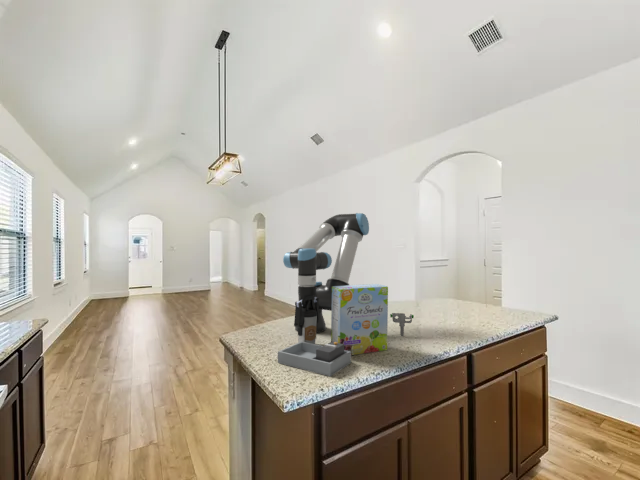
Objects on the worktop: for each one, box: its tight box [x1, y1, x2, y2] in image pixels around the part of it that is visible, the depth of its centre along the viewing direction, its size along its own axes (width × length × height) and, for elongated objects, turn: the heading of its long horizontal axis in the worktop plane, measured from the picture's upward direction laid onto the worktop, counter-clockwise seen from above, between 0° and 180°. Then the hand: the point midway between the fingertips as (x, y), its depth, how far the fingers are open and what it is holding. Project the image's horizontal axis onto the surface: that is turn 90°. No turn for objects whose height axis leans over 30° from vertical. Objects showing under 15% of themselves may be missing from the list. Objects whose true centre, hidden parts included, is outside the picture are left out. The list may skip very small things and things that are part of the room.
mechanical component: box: [389, 312, 414, 337], centre depth 147 cm, size 3×10×10 cm, turn 79°
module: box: [316, 341, 344, 363], centre depth 111 cm, size 5×10×7 cm, turn 147°
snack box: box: [330, 283, 389, 356], centre depth 127 cm, size 22×9×26 cm, turn 113°
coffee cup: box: [302, 309, 317, 344], centre depth 134 cm, size 8×8×15 cm
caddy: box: [277, 341, 352, 377], centre depth 115 cm, size 22×14×4 cm, turn 57°
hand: (307, 340), depth 134 cm, fingers closed on coffee cup, 7 cm apart
